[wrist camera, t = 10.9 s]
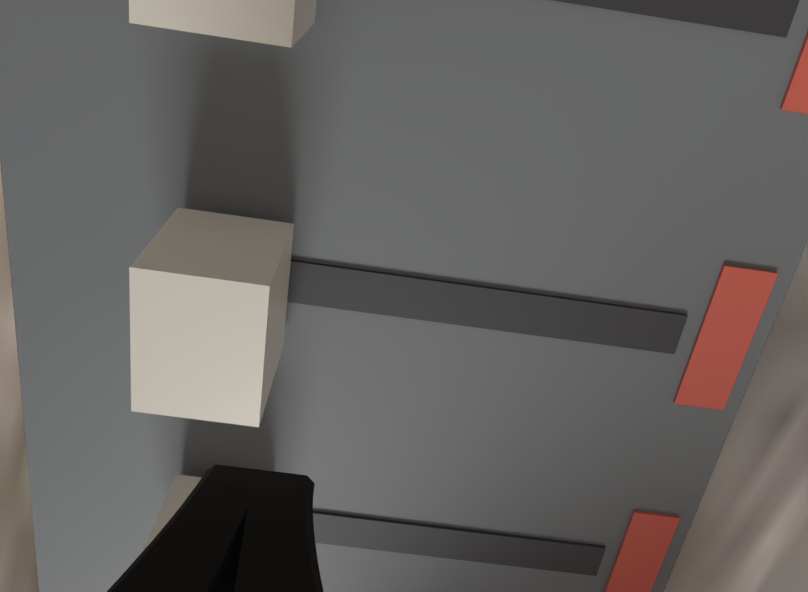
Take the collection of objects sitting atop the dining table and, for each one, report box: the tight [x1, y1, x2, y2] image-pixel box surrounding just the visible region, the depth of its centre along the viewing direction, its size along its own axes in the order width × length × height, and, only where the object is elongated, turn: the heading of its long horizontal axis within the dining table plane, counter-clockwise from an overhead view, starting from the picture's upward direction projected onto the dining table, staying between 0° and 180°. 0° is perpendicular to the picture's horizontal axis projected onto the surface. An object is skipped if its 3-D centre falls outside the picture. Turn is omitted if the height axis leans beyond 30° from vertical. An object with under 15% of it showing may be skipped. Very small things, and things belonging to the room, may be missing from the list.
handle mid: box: [129, 207, 294, 427], centre depth 15 cm, size 2×3×3 cm
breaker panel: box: [0, 0, 808, 592], centre depth 17 cm, size 17×22×1 cm
